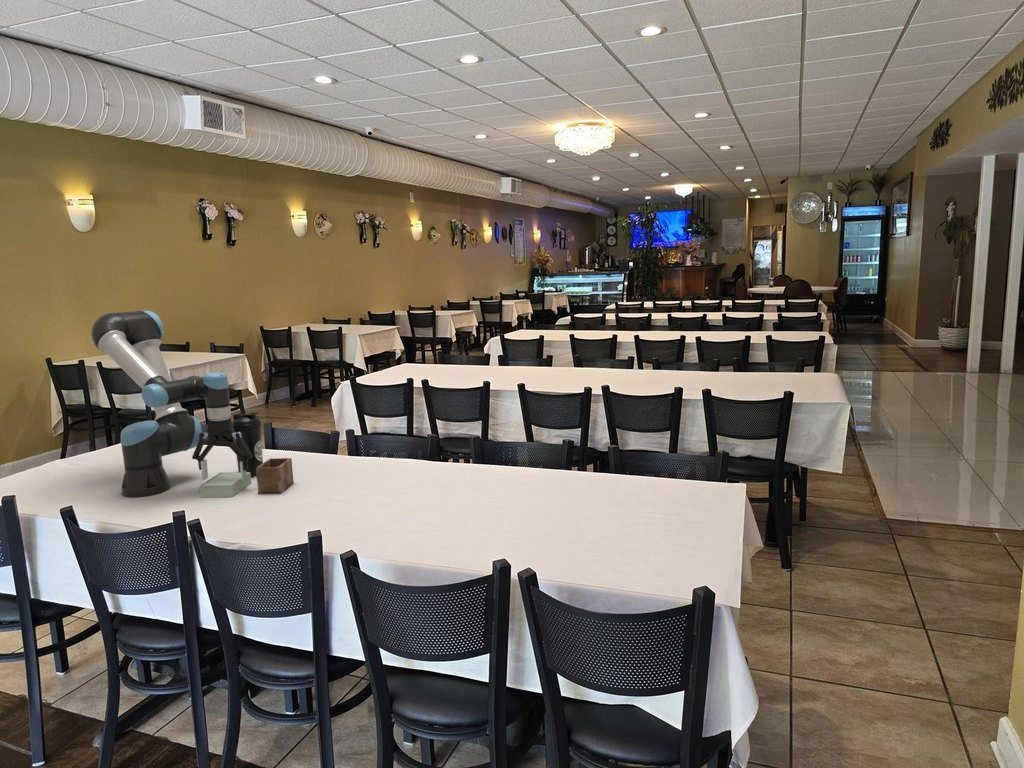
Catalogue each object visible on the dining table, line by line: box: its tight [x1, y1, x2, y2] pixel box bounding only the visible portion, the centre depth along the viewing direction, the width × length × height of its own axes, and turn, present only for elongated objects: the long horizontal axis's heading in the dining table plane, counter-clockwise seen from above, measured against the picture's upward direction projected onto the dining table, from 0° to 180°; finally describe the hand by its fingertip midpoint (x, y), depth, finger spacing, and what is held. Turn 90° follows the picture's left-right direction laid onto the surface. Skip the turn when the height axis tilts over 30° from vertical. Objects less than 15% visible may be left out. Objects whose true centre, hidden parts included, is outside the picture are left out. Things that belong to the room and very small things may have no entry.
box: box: [256, 457, 295, 495], centre depth 244 cm, size 12×8×9 cm, turn 177°
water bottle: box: [232, 411, 264, 478], centre depth 260 cm, size 10×10×23 cm
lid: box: [198, 471, 252, 498], centre depth 244 cm, size 15×11×4 cm
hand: (224, 478), depth 244 cm, fingers open, 13 cm apart
